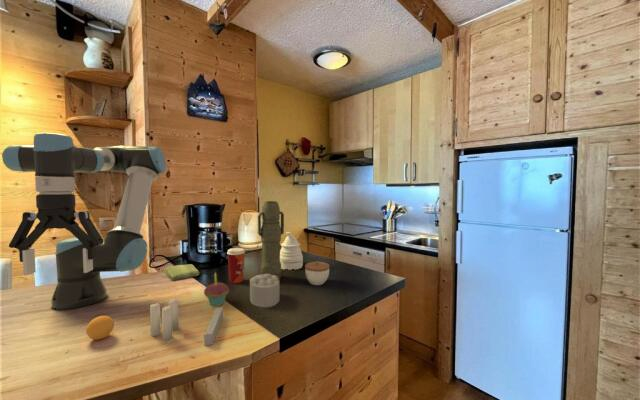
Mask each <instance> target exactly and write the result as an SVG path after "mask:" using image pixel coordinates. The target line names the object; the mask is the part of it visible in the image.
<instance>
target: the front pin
mask: <svg viewBox="0 0 640 400" xmlns="http://www.w3.org/2000/svg"><path fill="white" fill-rule="evenodd" d="M149 314H150V315H149V316H150V320H149V321H150V336H151V337H157V336H159V335H161V333H162V332H161V331H162V330H161V328H162V327H161V304H160V303H159V302H158V303H152V304H150V306H149Z"/></svg>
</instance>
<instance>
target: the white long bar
mask: <svg viewBox="0 0 640 400" xmlns="http://www.w3.org/2000/svg"><path fill="white" fill-rule="evenodd" d="M223 317H224V307H222V306H221V307H216V308H215V310H214V312H213V314H212V317H211V318H210V320H209V323H208V326H207V328H206V330H205V332H204V334H203V339H204V340H203V341H204V343H203V344H204V345H203V346H213V344H214V342H215V339H216V337H217V336H216V335H217V333H218V331H219V328H220V325H221V322H222V320H223Z"/></svg>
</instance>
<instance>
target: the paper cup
mask: <svg viewBox="0 0 640 400" xmlns="http://www.w3.org/2000/svg"><path fill="white" fill-rule="evenodd" d="M245 253H246V251H245V249H244V248H242V247H234V248H229V249H227V252H226V254H227V263H228V266H227V267H228V276H229V277H228V279H229V283H231V284H239V283H240V284H241V283H242V282H243V281H244V270H245V268H244V267H245Z"/></svg>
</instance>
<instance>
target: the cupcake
mask: <svg viewBox="0 0 640 400" xmlns="http://www.w3.org/2000/svg"><path fill="white" fill-rule="evenodd" d="M203 293H204V294H203V295H205V297H206V298H207V299H208V300H209V301H208V302H209V304H210V305H211V306H220V305H223V304H224V303H225V301H226V297H227V295H228V294H229V293H230V286H229V285H228V284H227V283H224V282H219V281H218V280H217V272H216V271H215V272H214V282H213V283H211V284H209V285H207V286H206V287H205V289H204V292H203Z"/></svg>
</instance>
